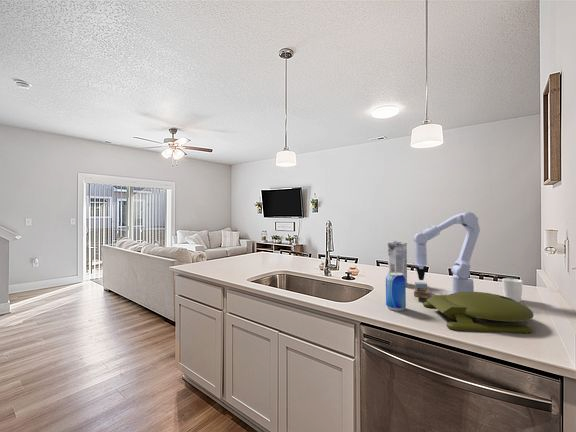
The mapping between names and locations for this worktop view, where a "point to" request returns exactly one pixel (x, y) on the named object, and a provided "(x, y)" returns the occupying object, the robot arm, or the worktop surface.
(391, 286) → the beer can
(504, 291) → the white cup
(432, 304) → the spaceship
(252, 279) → the worktop surface
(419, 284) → the block
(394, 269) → the juice carton
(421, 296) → the wooden tray
